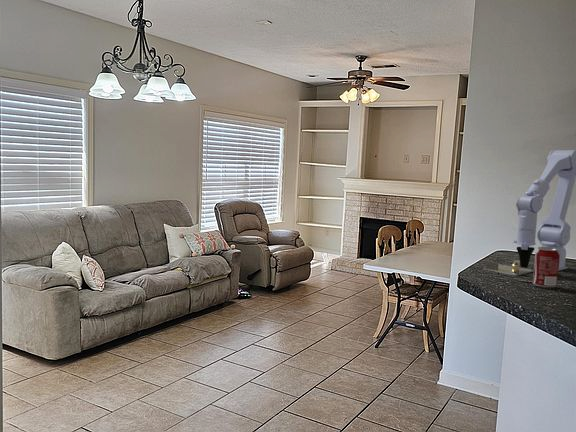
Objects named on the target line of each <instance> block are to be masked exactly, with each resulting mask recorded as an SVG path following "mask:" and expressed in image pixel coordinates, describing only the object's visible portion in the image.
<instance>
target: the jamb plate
mask: <svg viewBox="0 0 576 432" xmlns="http://www.w3.org/2000/svg"><path fill="white" fill-rule="evenodd" d="M498 268H499V269H505V270H510V271H507V272H506V271H500V270H492V269H486V266H485V267H482V271H488V272H493V271H494V272H493V273H498V272H499V273H500V274H505V275H509V276H515V277H517V276H522V275H525V274H528V273H534V269H529V268H523V267H520V268H519V272H513V271H512V265H508V264H507V265H506V264H498ZM499 273H498V274H499Z"/></svg>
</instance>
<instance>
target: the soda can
mask: <svg viewBox="0 0 576 432" xmlns="http://www.w3.org/2000/svg"><path fill="white" fill-rule="evenodd" d="M559 259H560V255H559V253H558V249H555V248H548V247H541V246H538V247H537V250H536V252H535V255H534V263H533V265H534V267H533V277H532V278H533V279H532V284H533V285H535V286H536V287H538V288H542V289H554V288H557V287H558V282H559V281H558V280H559V279H558V278H559V271H560V270H559ZM558 270H559V271H558Z"/></svg>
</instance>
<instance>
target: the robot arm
mask: <svg viewBox="0 0 576 432" xmlns="http://www.w3.org/2000/svg"><path fill="white" fill-rule="evenodd" d="M546 161H547V164H546V166H545V168H544V169H543V172H542V173H541V175H540V177H539V178H538V179H535V180H533V182H532V184H531V185H530V187H529V188H528V190H527V191H526V192H525V194H524V195H521V196H520V197H519V198H518V199H517V201H516V206H515V207H516V209H517V215H518V229H517V240H513V243H514V244H517V245H519V246H516V250H517V253H518V257H519V260H520V268H524V269H528V267H529V263H530V259H531V256H532V254H533V253H534V251H535V249H536V248H535V247H532V246H535V245H536V237H537V240H538V241H539V244H541V246H540V247H548V248H555V249H558V253H559V255H560V259H559V270H558V272H559V271H563V270H566V269H568V266H566V259H567V258H566V256H567V251H566V248H565V247H566V246H567V245H568V243H569V242H570V239H571V226H570V224H569V223H568V222H567V221H566V217H567V213H568V209H569V205H570V201H571V197H572V195H573V194H572V193H573V189H574V185H575V181H576V149H572V150H571V149H565V150H564V149H563V150H561V149H560V150H556V149H552V150H551V151H550V152H549V154H548V156H547V160H546ZM556 176H559V178H558V184H557V186H556V191H555V194H554V197H553V202H552V205H551V209H550V213H549V217H547V218H546V219H545V218H544V220H542V221H541V223H540V226H539V227H538V229H537V222H538V213H539V212H540V211H541V210H542V206H543V203H544V198H545V196H546V195H547V193H548V191H550V189H551V188H550V183H551V182H552V180H553V179H554V178H555V177H556Z"/></svg>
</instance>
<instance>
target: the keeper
mask: <svg viewBox="0 0 576 432" xmlns="http://www.w3.org/2000/svg"><path fill="white" fill-rule="evenodd" d="M485 262H486V263H485V264H486V265H485V267H486V269H492V270H500V271H506V272H507V271H510V270H505V269H499V268H498V265H500V264H499V262H494V261H485Z"/></svg>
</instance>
